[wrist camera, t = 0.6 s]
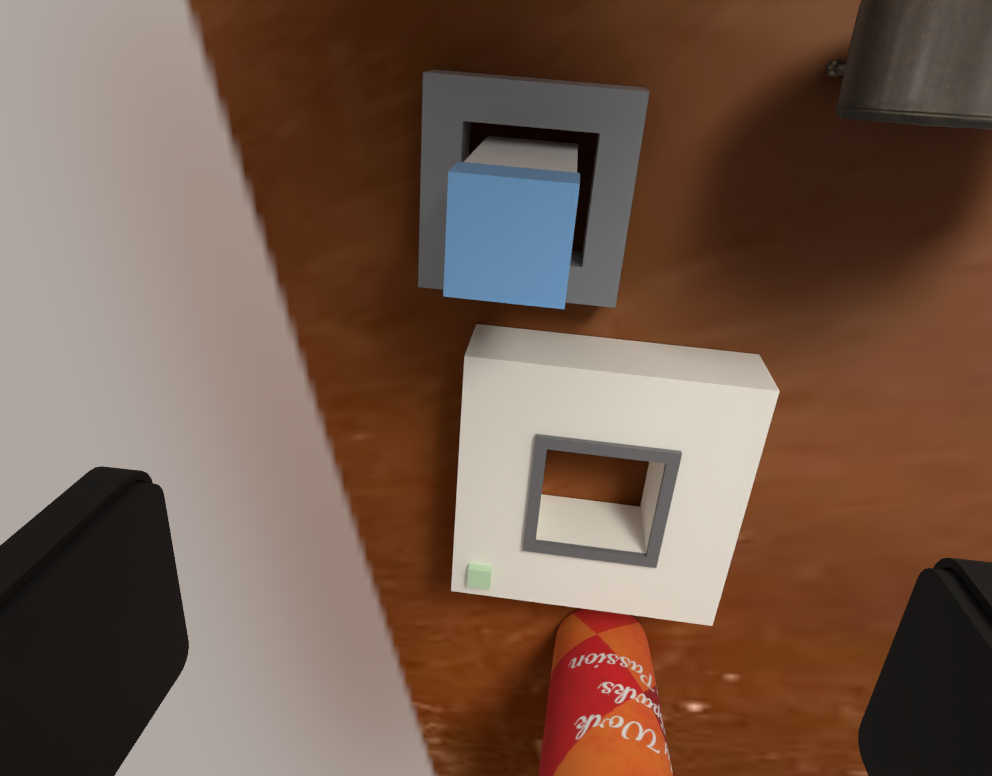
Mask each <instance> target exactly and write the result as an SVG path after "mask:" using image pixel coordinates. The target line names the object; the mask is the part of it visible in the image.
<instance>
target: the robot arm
mask: <svg viewBox="0 0 992 776" xmlns="http://www.w3.org/2000/svg"><path fill="white" fill-rule="evenodd" d="M188 648H189V642H188V635H187V629H186V624H185V617H184V612H183V606H182V599H181V593H180V587H179V581H178V575H177V569H176V563H175V557H174V551H173V546H172V540H171V533H170V528H169V522H168V516H167V510H166V504H165V498H164V493H163V490H162V488H161V487H160V486H159V485H157V484H153V483H152V479H151V478H150V476H149V475H148V474H147V473H145V472H143V471H138V470H129V469H120V468H110V467H95V468H94V469H92V470H90V471H89V472H88V473H86V474H85V475H84V476H83V477H82V478H80V480H78V481H77V482H76V483H74V484H73V485H72V486H71V487H70V488H69V489H67V490H66V491H65V492H64V493H63V494H61V495H60V496H59V497H58V498H57V499H55V500H54V501H53V502H52V503H51V504H49V505H48V506H47V507H46V508H45V509H43V510H42V511H41V512H40V513H39V514H38V515H36V516H35V517H34V518H33V519H32V520H30V521H29V522H28V523H27V524H26V525H24V526H23V527H22V528H21V529H20V530H18V531H17V532H16V533H15V534H14V535H12V536H11V537H10V538H9V539H8V540H7V541H5V542H4V543H3V544H2V545H0V776H114V775H115V774H116V772H117V770H118V769H119V767H120V766H121V764H122V763H123V761H124V760H125V758H126V757H127V755H128V754H129V752H130V750H131V749H132V747H133V746H134V744H135V743H136V741H137V740H138V738H139V736H140V735H141V734H142V732H143V730H144V729H145V727H146V726H147V724H148V723H149V721H150V720H151V718H152V717H153V715H154V713H155V712H156V710H157V709H158V707H159V706H160V704H161V703H162V701H163V700H164V698H165V696H166V695H167V693H168V692H169V690H170V689H171V687H172V686H173V684H174V683H175V681H176V680H177V678H178V676H179V675H180V673H181V671H182V670H183V667H184V665H185V662H186V659H187V655H188ZM858 740H859V749H860V754H861V758H862V761H863V763H864V766H865V768H866V770H867V773H868V775H869V776H992V562H983V561H973V560H964V559H955V558H944V559H941V560H940V561H939V562H937V563H936V564H935V566H934V568H933V569H932V568H928V569H924V570H923V571H922V572H921V573H920V575H919V577H918V579H917V581H916V584H915V586H914V589H913V591H912V594H911V597H910V599H909V602H908V604H907V607H906V609H905V612H904V614H903V617H902V619H901V622H900V625H899V627H898V630H897V632H896V635H895V637H894V640H893V642H892V645H891V648H890V650H889V653H888V655H887V658H886V660H885V663H884V665H883V668H882V671H881V673H880V676H879V678H878V681H877V683H876V686H875V688H874V691H873V694H872V696H871V699H870V701H869V704H868V706H867V709H866V711H865V714H864V716H863V719H862V722H861V724H860V728H859V736H858Z"/></svg>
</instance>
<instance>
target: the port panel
mask: <svg viewBox="0 0 992 776" xmlns="http://www.w3.org/2000/svg"><path fill="white" fill-rule="evenodd" d="M778 395H779V389H778V387H777V386H776V384H775V382H774V380H773V378H772V377H771V375H770V373H769V371H768V369H767V368H766V366H765V364H764V362H763V360H762V359H761V357H760V355H759V354H750V353H741V352H731V351H722V350H713V349H704V348H695V347H685V346H676V345H667V344H658V343H648V342H639V341H630V340H621V339H612V338H602V337H593V336H584V335H575V334H565V333H556V332H547V331H538V330H529V329H519V328H510V327H501V326H492V325H482V324H476V326H475V329H474V331H473V334H472V337H471V339H470V342H469V345H468V348H467V350H466V353H465V356H464V372H463V390H462V407H461V425H460V443H459V460H458V478H457V495H456V513H455V531H454V548H453V566H452V583H451V591H455V592H463V593H470V594H478V595H485V596H493V597H500V598H508V599H515V600H523V601H530V602H538V603H545V604H553V605H560V606H568V607H575V608H583V609H590V610H598V611H605V612H613V613H620V614H628V615H635V616H643V617H650V618H658V619H665V620H673V621H680V622H688V623H695V624H703V625H710V626H712V625H713V622H714V618H715V615H716V611H717V608H718V604H719V601H720V597H721V594H722V590H723V587H724V583H725V580H726V576H727V573H728V569H729V566H730V562H731V559H732V555H733V552H734V548H735V545H736V541H737V538H738V534H739V531H740V527H741V524H742V521H743V517H744V514H745V510H746V507H747V503H748V500H749V496H750V493H751V489H752V486H753V482H754V479H755V475H756V472H757V468H758V465H759V461H760V458H761V454H762V451H763V447H764V444H765V440H766V437H767V433H768V430H769V426H770V423H771V419H772V416H773V412H774V409H775V405H776V402H777V398H778ZM547 449H548V450H556V451H565V452H573V453H581V454H590V455H598V456H607V457H615V458H623V459H632V460H640V461H648V462H649V465H648V470H647V475H646V480H645V485H644V490H643V495H642V500H641V505H640V506H632V505H623V504H615V503H607V502H599V501H591V500H583V499H575V498H567V497H559V496H551V495H542V486H543V478H544V469H545V461H546V453H547Z"/></svg>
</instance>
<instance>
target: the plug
mask: <svg viewBox="0 0 992 776" xmlns="http://www.w3.org/2000/svg"><path fill="white" fill-rule="evenodd" d="M577 159H578V144H576V143H565V142H554V141H543V140H532V139H521V138H510V137H499V136H487V138H486V139H485V140H484V141H483V142H482V143H481V144H480V145H479V146H478V147H477V148H476V149H475V150H474V151H473V152H472V153H471V155H470V156H469V157H468V158H467V159H466V160H465V161H464V162H457V163H456V164H455V165H454V166H453V167H452V168H451V169H450V170H449V171H448V190H447V215H446V240H445V265H444V290H443V296H444V297H453V298H462V299H472V300H481V301H491V302H500V303H509V304H519V305H528V306H538V307H547V308H557V309H565V301H566V293H567V285H568V277H569V269H570V261H571V253H572V244H573V236H574V228H575V220H576V212H577V204H578V196H579V188H580V173H577Z"/></svg>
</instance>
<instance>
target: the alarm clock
mask: <svg viewBox="0 0 992 776" xmlns="http://www.w3.org/2000/svg"><path fill="white" fill-rule="evenodd" d="M826 75H827V76H829V77H836V76H838V75H842V76H843V80H842V85H841V89H840V94H839V98H838V103H837V106H836V112H837V113H838V115H839V116H841V117H843V118H850V119H854V120H866V121H876V122H890V123H898V124H912V125H919V126H938V127H951V128H977V129H991V130H992V0H862V1H861V3H860V6H859V10H858V14H857V17H856V21H855V25H854V30H853V34H852V39H851V44H850V48H849V53H848V57H847V62H846V63H842V62H841V61H840V60H832V61H831V62H830V63H828V64H827V66H826Z"/></svg>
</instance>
